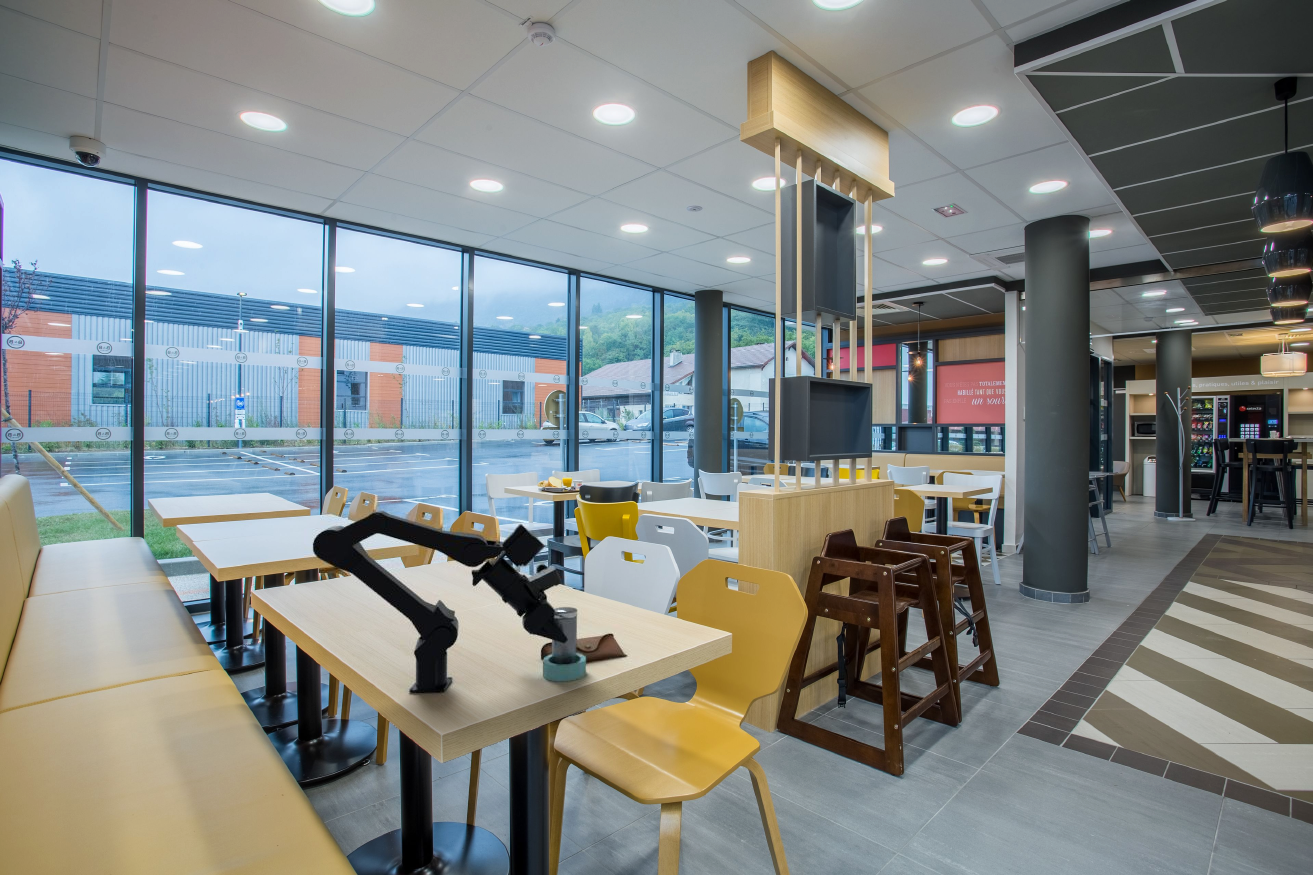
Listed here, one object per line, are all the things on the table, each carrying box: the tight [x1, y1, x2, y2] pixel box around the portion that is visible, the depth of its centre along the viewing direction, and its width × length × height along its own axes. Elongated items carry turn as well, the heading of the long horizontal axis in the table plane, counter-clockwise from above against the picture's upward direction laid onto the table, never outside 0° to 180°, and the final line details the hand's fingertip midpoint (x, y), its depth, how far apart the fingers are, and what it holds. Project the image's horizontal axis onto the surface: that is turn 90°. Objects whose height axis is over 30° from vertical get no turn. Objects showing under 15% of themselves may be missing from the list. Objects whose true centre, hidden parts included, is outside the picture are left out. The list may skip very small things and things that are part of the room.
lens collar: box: [542, 653, 587, 682], centre depth 130 cm, size 9×9×3 cm
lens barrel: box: [551, 606, 578, 664], centre depth 130 cm, size 5×5×13 cm
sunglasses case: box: [540, 633, 628, 664], centre depth 141 cm, size 18×7×7 cm
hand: (562, 634), depth 130 cm, fingers open, 9 cm apart
